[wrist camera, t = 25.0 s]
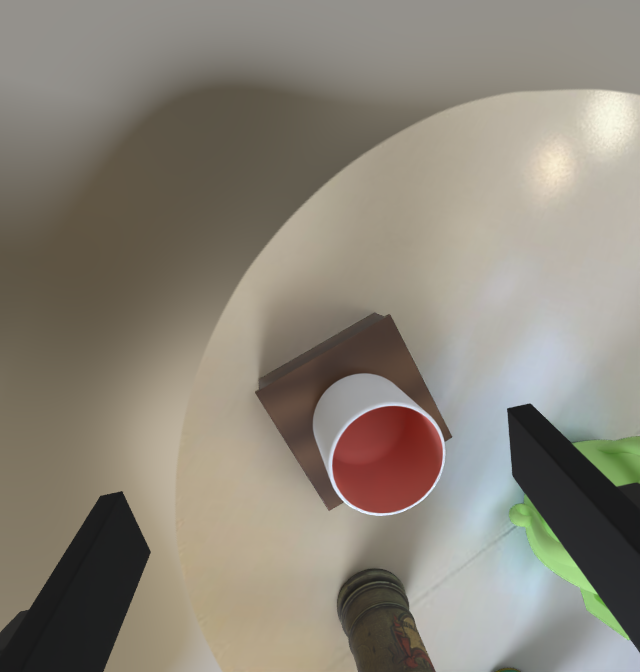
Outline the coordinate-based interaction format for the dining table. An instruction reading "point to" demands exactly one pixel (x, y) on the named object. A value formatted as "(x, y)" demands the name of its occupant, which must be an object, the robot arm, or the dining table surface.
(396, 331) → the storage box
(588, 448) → the teapot
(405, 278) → the dining table surface
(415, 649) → the container
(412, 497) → the cup
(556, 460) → the robot arm
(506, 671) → the beverage can
